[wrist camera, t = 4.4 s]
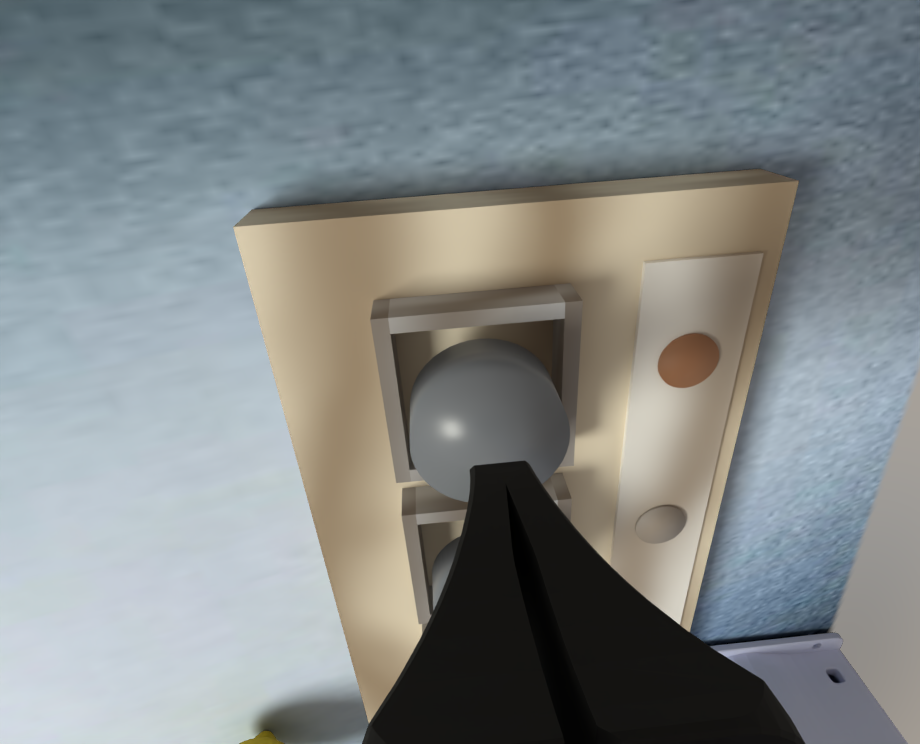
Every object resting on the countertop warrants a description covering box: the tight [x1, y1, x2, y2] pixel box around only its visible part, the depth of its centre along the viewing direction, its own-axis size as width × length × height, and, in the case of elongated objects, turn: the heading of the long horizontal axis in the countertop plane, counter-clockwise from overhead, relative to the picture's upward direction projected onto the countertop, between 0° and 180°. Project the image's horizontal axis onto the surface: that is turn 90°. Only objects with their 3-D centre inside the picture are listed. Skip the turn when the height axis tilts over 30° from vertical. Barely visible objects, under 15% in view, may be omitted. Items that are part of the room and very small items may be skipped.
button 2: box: [410, 339, 570, 502], centre depth 16 cm, size 4×4×2 cm
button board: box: [233, 169, 799, 723], centre depth 22 cm, size 16×26×3 cm, turn 4°
